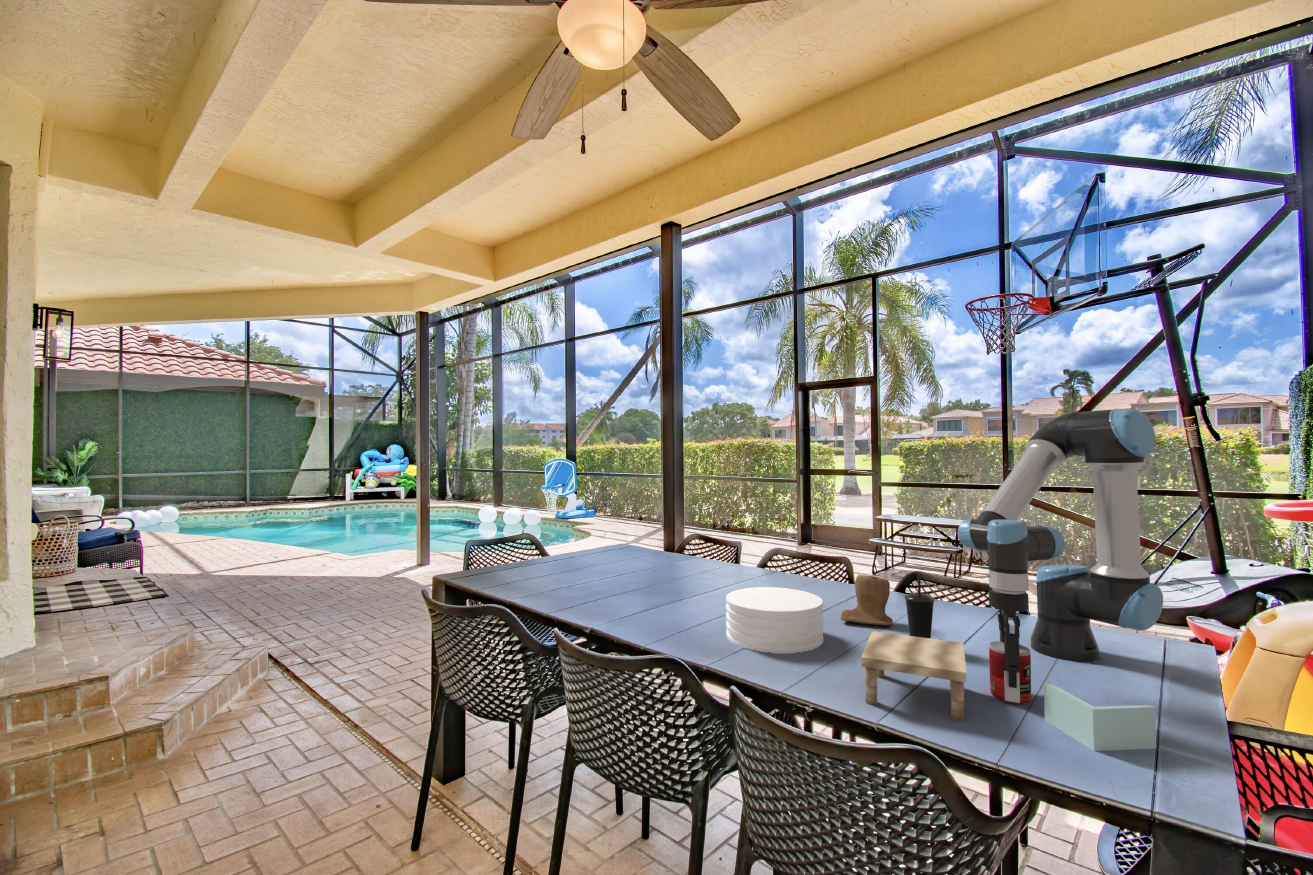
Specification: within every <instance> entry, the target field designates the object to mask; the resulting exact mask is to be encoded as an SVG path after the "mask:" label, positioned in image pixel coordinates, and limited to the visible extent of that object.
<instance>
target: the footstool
mask: <svg viewBox="0 0 1313 875" xmlns="http://www.w3.org/2000/svg"><path fill="white" fill-rule="evenodd" d="M964 644H965V643H964V642H960V641H951V640H946V639H945V640H944V639H938V638H937V639H936V638H931V639H930V638H922V637H914V636H910V635H906V634H897V633H889V632H883V631H874V630H872V631H871V632H870V635H869V637H868V639H867V642H866V645H865V647H864V649H863V653H862V655H861V667H864V677H865V678H864V680H865V681H864V687H865V689H864V690H865V693H864V695H865V703H866V704H868V705H872V706H874V705H877V704H878V678H884V677H885V671H888V672H894V673H901V674H908V675H915V676H921V677H927V678H934V679H940V680H948V681H949V687H950V717H951V719H952V720H955V721H964V720H965V683H968V679H967V678H968V677H967V676H968V675H967V674H968V673H967V666H966V665H967V664H966V654H965V646H964Z"/></svg>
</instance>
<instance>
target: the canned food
mask: <svg viewBox="0 0 1313 875" xmlns="http://www.w3.org/2000/svg"><path fill="white" fill-rule="evenodd" d="M988 646H989V647H988V658H989V659H988V662H989V664H988V665H989V666H988V667H989V690H990V693H991V695H992V696H993V697H994V698H996V699H998V700H1000V701H1002V702H1006V703H1010V704H1014V705H1015V704H1016V705H1027V704H1028V703H1030V702H1031V699H1032V665H1031V663H1032V662H1031V661H1032V660H1031V650H1030V649H1029V647H1027V646H1025V645H1022V644H1020V643H1019V652H1020V669H1021V672H1020V673H1019V678H1020V703H1016V702H1010V701H1005V680H1004V671H1003V670H1002V669H1001V667H1004V668H1005V651H1004V642H1002V641H1000V640H998V641H997V640H995V641H991V642H989V644H988ZM1012 666H1014V665H1012Z"/></svg>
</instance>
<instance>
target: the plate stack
mask: <svg viewBox="0 0 1313 875" xmlns="http://www.w3.org/2000/svg"><path fill="white" fill-rule="evenodd" d="M725 602H726V604H725V611H726V613H725V619H726V622H725V625H726V626H725V628H726V631H725V636H726V638H727V640H728V641H729V642H730V643H732V644H734V645H736V646H738V647H741V648H744V649H747V650H751V651H754V650H755V651H756V652H761V653H767V652H771V653H770V654H797V652H800V653H805V652H804V651H806V652H809V650H810V651H812V650H816V649H818V648H820V647H821V646H822V645H823V644H822V643H824V618H823V616H824V610H823V607H824V601H823V599H822V598H821V597H820V596H819V595H817V594H814V593H812V592H808V591H805V590H801V589H795V588H787V587H786V588H785V587H775V586H774V587H773V586H769V587H768V586H763V587H761V586H760V587H759V586H757V587H755V586H754V587H747V588H745V587H744V588H740V589H736V590H733V591H730V592H729V593H727V594H726V596H725ZM821 644H822V645H821ZM820 645H821V646H820ZM819 646H820V647H819ZM817 647H818V648H817ZM815 648H816V649H815Z"/></svg>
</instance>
